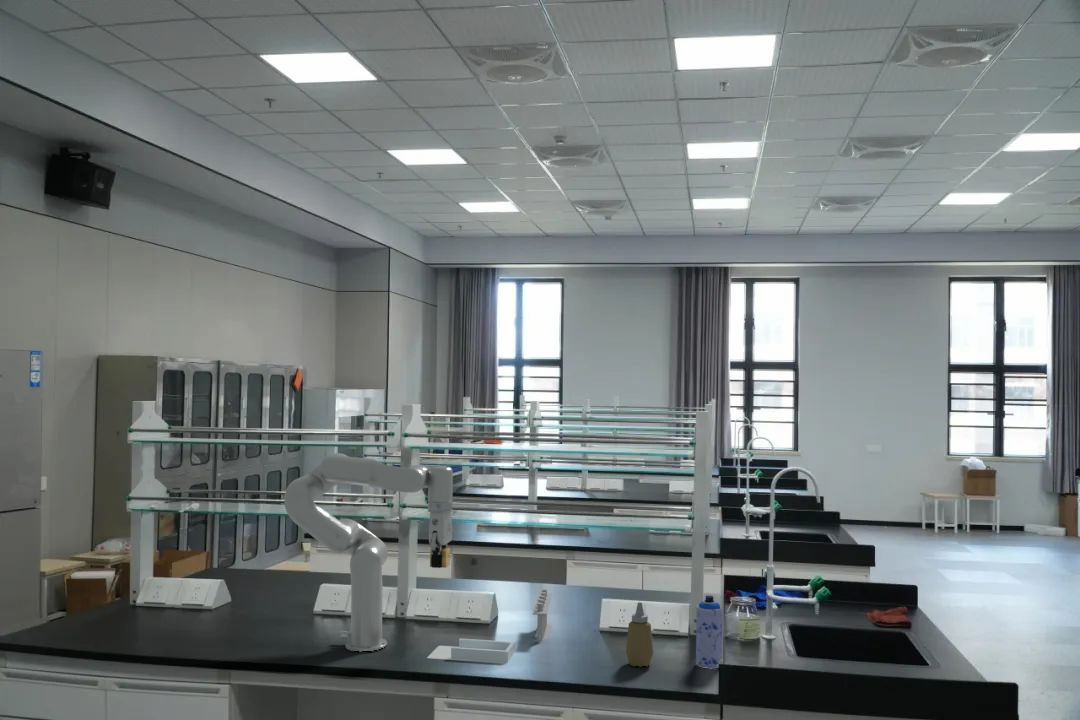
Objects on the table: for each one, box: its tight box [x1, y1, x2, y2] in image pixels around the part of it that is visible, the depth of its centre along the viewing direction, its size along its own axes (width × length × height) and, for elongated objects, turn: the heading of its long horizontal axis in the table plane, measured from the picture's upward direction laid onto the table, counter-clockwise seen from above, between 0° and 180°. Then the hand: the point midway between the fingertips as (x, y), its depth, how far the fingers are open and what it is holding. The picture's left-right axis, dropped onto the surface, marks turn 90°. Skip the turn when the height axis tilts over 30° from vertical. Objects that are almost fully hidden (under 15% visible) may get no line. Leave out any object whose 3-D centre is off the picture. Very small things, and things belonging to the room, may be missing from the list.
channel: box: [426, 637, 516, 665], centre depth 259 cm, size 24×12×4 cm, turn 79°
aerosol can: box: [695, 595, 723, 668], centre depth 257 cm, size 8×8×20 cm
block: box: [429, 547, 451, 569], centre depth 271 cm, size 5×5×5 cm
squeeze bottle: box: [625, 601, 654, 668], centre depth 256 cm, size 8×8×18 cm
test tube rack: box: [532, 588, 553, 644], centre depth 282 cm, size 25×4×13 cm, turn 175°
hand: (439, 564), depth 271 cm, fingers closed on block, 5 cm apart
